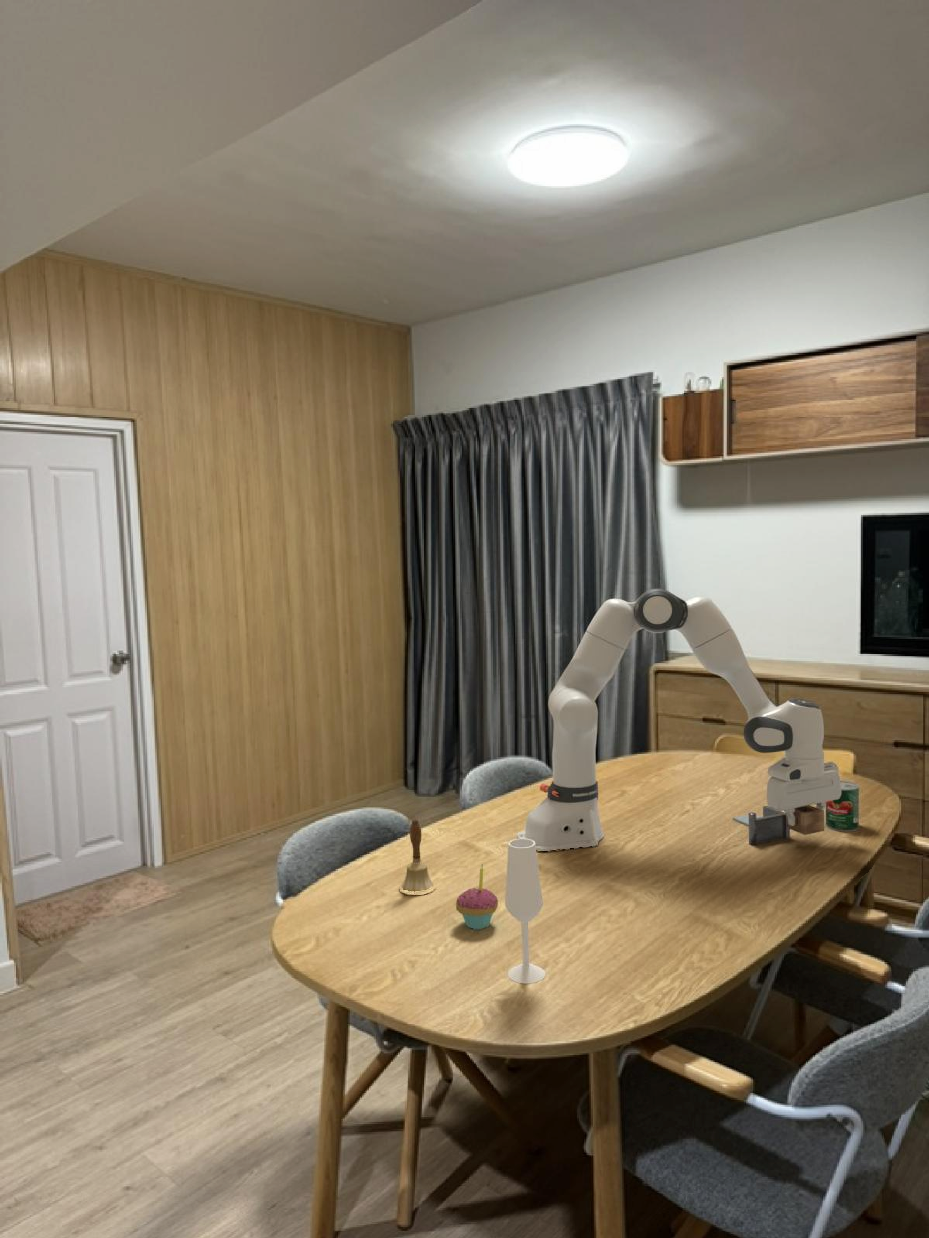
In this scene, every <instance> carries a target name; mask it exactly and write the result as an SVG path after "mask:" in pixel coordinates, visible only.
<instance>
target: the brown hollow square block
mask: <svg viewBox="0 0 929 1238" xmlns="http://www.w3.org/2000/svg"><path fill="white" fill-rule="evenodd" d="M793 814H794V816H795V817H796V818H798V825H794V826H791V825H789V824H788V817H787V828H789V829H790V831H793V832H796V833H798V834H801V835H804V836H806V835H811V834H816V833H820V832H825V809H824V810H821V809H818V808H816V806H812V805H807V806H803V807H798V808H795V812H793ZM786 816H787V815H786Z"/></svg>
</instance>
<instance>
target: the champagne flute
mask: <svg viewBox="0 0 929 1238" xmlns="http://www.w3.org/2000/svg"><path fill="white" fill-rule="evenodd" d="M507 844H508V845H507V846H508V847H507V862H506V864H507V865H506V881H505V882H506V883H505V896H504V897H505V899H504V900H505V901H504V905H505V908H506V910H507V912H508V913H509V914H510V915H511V916H512V917H513V918H514V919H515V920H517V921H518V922H520V923H521V943H522V944H521V948H522V950H521V951H522V963H520V964H518V965H516V966H514V967H511V968H510V969H509V970H508V972H507V976H508V979H510V980H511V981H513V982H515V983H519V984H525V985H526V984H534V983H538V982H540V981H542V980H544V978H545V977H546V971H545V970H544V969H543V968H541V967H540V966H537V965H535V964H532V963H530V944H529V943H530V941H529V923H530V922H531V921H533V919H534V918H535V917H537V916H538V915H539V913H540V912H541V910H542V909H543V905H544V901H543V892H542V884H541V878H540V870H539V861H538V854H537V851H536V845H535V842H534V841H533V840H530V839H517V838H516V839H512V840H510V841H508V843H507Z"/></svg>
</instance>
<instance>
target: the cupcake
mask: <svg viewBox="0 0 929 1238" xmlns="http://www.w3.org/2000/svg"><path fill="white" fill-rule="evenodd" d="M483 865H484V863H482V864H481V867H480V868H479V882H478V885H479V886H478V888H475V887H472V888H469V889H467V890H466V891H464V892H463V893H461V894H459V896H458V898H456V903H455V908H456V911H457V912H458V913H459V914H461V915H462V918H463V919H464V922H465V926H466V925H467V926H468V927H470V928H469V929H471V928H473V929H472V930H483V928H484V929H486V928H489V926H490V925H489V924H491V921H492V920H491V919H492V917H493V914H494V913H495V912H496V910H497V908H498V905H499V900H498V897H497V896H496V894H494V892H492V891H491V890H488V889H487V888H483V881H484V880H483V879H484V868H483ZM467 926H466V927H467ZM468 927H467V928H468ZM485 927H486V928H485Z"/></svg>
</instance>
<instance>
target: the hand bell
mask: <svg viewBox="0 0 929 1238" xmlns="http://www.w3.org/2000/svg"><path fill="white" fill-rule="evenodd" d="M409 837H410V842H411V846H412V862H410V863H409V864H408V865H407V866H406V874H405V875H406V876H405V879H404V880H403V882H402V883H401V884H402V885H401V884H400V886H402V888H403V890H408V891H414V892H415V891H421V890H427V889H429V888H430V887H431V886H433V882H434V881H433V882H432V879H431V878H430V875H429V871H428V866H427V864H426V862H423V861H421V849H420V847H421V843H422V827H421V825H420V822H419V819H417V818H413V819H412V820H411V825H410V828H409Z"/></svg>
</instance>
